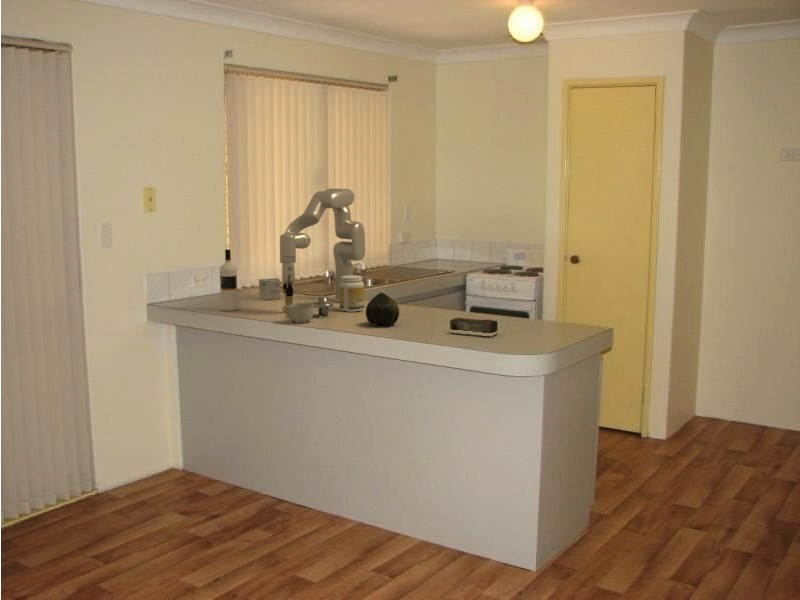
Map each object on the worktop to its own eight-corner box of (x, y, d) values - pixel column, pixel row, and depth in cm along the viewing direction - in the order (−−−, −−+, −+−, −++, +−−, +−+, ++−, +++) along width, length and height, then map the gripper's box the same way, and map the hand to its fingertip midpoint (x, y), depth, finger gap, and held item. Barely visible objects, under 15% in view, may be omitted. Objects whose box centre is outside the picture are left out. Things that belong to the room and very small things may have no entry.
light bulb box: (278, 297, 434) (278, 278, 432) (280, 299, 428) (280, 279, 426) (258, 298, 431) (258, 278, 429) (260, 300, 425) (260, 280, 423)
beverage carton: (456, 330, 347) (456, 315, 346) (498, 334, 338) (498, 319, 337) (449, 333, 340) (449, 318, 339) (491, 338, 331) (491, 322, 330)
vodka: (237, 311, 391) (235, 250, 386) (218, 311, 390) (216, 250, 385) (240, 308, 400) (238, 248, 395) (221, 308, 399) (219, 248, 395)
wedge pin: (294, 311, 390) (293, 288, 388) (295, 313, 387) (294, 289, 385) (282, 312, 388) (282, 288, 387) (284, 313, 385) (283, 289, 384)
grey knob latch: (330, 314, 384) (330, 295, 383) (334, 317, 375) (334, 298, 374) (294, 315, 379) (294, 297, 378) (298, 319, 370) (297, 300, 369)
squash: (383, 317, 345) (395, 289, 352) (355, 315, 353) (367, 287, 360) (397, 335, 355) (408, 307, 362) (369, 332, 363) (381, 305, 370)
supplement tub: (368, 309, 398) (368, 275, 395) (357, 313, 387) (357, 278, 384) (347, 307, 403) (346, 274, 400) (335, 311, 392) (334, 277, 389)
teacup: (316, 320, 367) (316, 303, 366) (306, 325, 357) (306, 307, 356) (289, 318, 371) (289, 302, 370) (278, 323, 361) (278, 305, 360)
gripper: (298, 261, 376) (298, 297, 379) (292, 258, 393) (292, 292, 395) (282, 261, 374) (282, 297, 377) (277, 258, 391) (277, 292, 393)
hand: (287, 294), depth 386 cm, fingers open, 9 cm apart
